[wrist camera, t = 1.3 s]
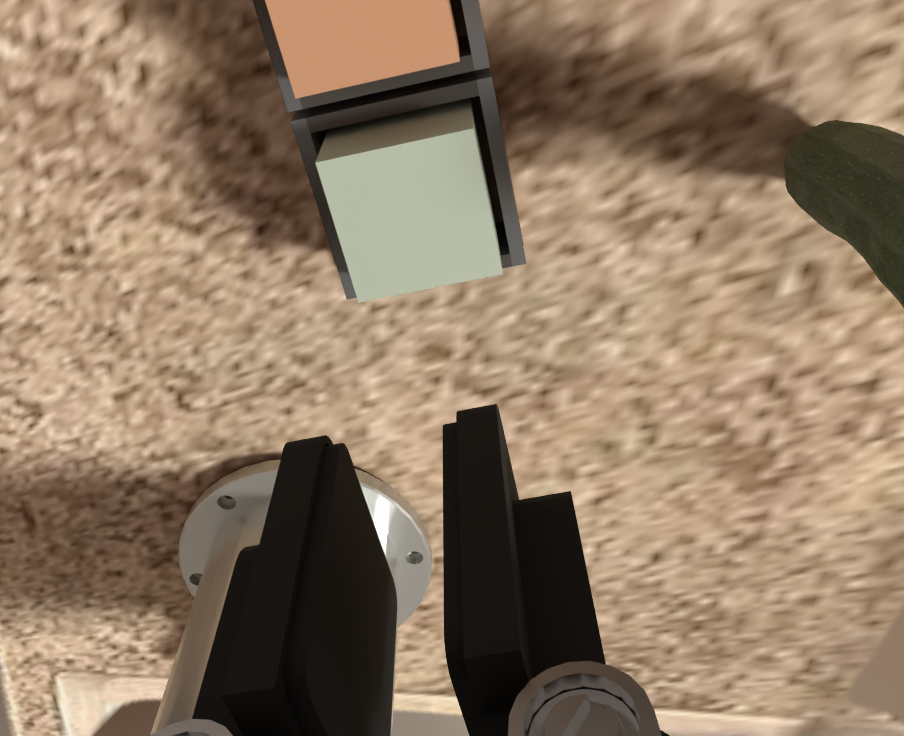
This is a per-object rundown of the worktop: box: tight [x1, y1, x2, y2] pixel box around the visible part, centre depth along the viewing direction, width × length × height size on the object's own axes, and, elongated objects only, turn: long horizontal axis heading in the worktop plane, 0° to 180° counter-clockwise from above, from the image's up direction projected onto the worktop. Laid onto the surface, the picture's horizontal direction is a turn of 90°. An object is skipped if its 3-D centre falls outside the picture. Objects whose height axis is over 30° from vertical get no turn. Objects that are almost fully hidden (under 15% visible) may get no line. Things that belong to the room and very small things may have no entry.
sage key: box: [315, 98, 503, 303], centre depth 29 cm, size 5×5×4 cm
